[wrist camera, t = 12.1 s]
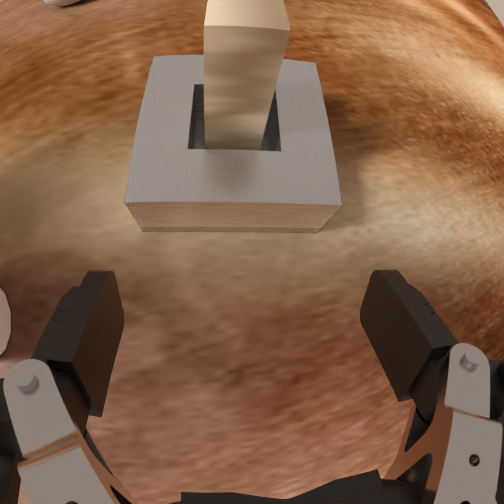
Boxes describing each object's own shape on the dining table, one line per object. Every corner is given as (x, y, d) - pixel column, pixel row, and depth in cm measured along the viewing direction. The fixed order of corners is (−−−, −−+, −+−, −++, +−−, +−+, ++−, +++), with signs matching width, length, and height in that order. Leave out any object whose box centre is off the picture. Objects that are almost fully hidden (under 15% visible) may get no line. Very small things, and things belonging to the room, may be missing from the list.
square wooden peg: (205, 169, 21) (204, 25, 10) (207, 130, 22) (209, -9, 11) (254, 169, 22) (290, 30, 10) (253, 131, 22) (282, -5, 11)
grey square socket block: (143, 231, 21) (124, 202, 16) (161, 98, 24) (153, 56, 19) (316, 232, 22) (342, 205, 17) (300, 102, 25) (315, 63, 20)
